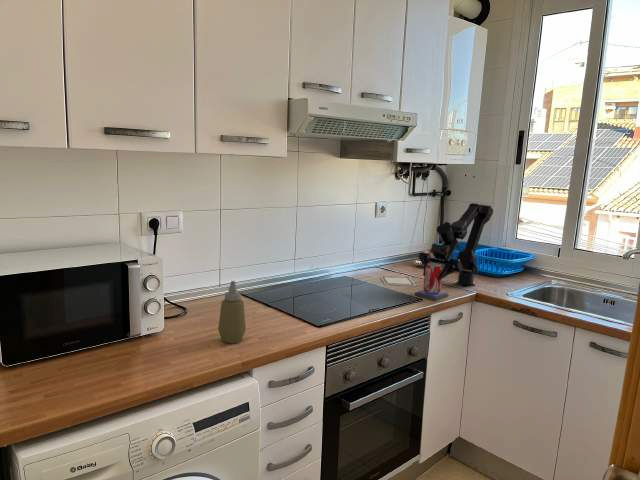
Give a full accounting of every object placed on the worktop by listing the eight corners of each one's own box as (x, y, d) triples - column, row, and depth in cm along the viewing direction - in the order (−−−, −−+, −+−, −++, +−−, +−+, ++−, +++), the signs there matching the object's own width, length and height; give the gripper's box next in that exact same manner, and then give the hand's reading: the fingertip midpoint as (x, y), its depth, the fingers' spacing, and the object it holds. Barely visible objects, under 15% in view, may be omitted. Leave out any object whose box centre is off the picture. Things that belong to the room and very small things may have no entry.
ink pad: (427, 291, 204) (427, 287, 204) (448, 296, 197) (448, 293, 197) (414, 295, 197) (414, 291, 197) (435, 300, 190) (436, 297, 190)
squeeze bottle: (212, 339, 139) (213, 280, 136) (235, 333, 145) (236, 276, 142) (228, 348, 133) (229, 286, 130) (251, 341, 139) (252, 282, 136)
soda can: (439, 295, 193) (442, 266, 191) (422, 293, 195) (424, 264, 193) (441, 290, 199) (443, 263, 197) (424, 288, 202) (426, 261, 199)
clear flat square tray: (409, 278, 225) (409, 277, 225) (415, 286, 212) (415, 285, 211) (380, 277, 225) (380, 276, 225) (384, 284, 211) (384, 283, 211)
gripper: (422, 233, 202) (405, 261, 196) (462, 240, 189) (445, 270, 183) (430, 249, 209) (414, 277, 203) (469, 257, 196) (453, 286, 190)
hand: (431, 277), depth 195 cm, fingers closed on soda can, 7 cm apart
